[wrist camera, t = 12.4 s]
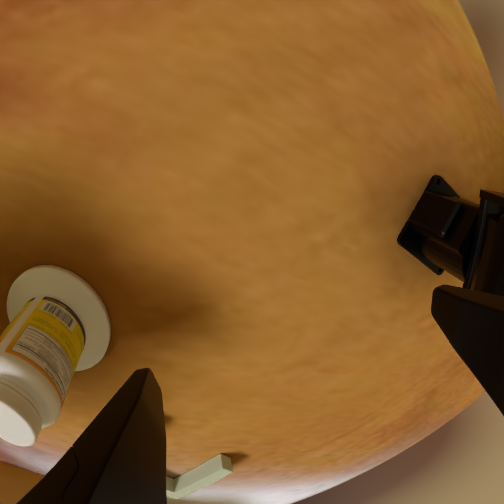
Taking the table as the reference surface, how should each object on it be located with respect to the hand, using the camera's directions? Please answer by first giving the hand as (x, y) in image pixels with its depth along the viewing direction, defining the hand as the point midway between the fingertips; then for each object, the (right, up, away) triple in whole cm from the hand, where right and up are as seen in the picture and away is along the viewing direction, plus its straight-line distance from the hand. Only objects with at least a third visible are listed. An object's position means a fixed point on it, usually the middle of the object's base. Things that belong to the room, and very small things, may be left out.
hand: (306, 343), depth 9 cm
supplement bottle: (-16, -3, +11) cm, 20 cm away
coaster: (-16, -3, +12) cm, 20 cm away
